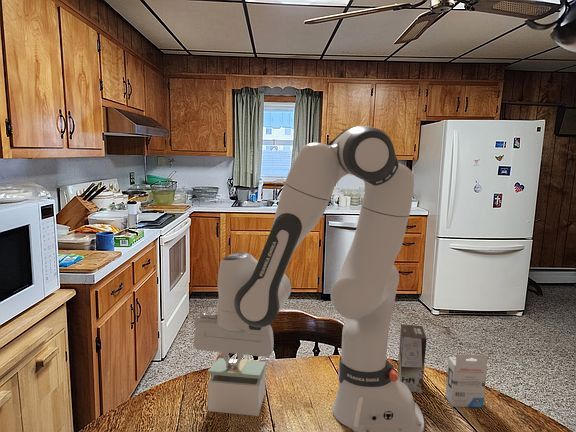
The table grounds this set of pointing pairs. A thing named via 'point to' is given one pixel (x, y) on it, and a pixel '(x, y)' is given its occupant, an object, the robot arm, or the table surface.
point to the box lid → (245, 369)
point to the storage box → (236, 394)
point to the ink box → (466, 380)
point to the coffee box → (412, 357)
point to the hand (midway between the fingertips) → (232, 367)
